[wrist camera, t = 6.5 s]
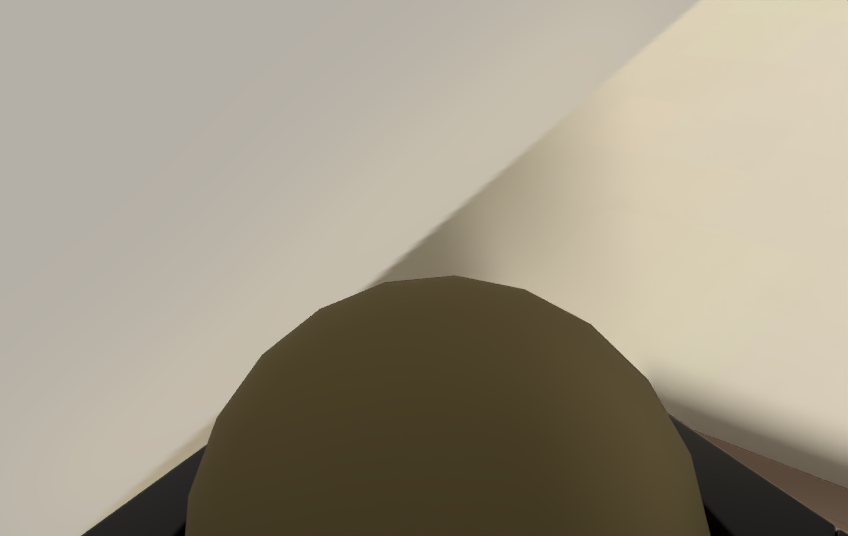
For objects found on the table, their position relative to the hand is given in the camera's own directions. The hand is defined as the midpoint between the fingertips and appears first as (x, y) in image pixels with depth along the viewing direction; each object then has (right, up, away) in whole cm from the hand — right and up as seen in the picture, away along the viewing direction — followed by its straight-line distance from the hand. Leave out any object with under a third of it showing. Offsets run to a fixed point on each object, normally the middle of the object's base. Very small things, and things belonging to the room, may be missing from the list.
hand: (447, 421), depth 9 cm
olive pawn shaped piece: (+1, -4, +6) cm, 7 cm away
